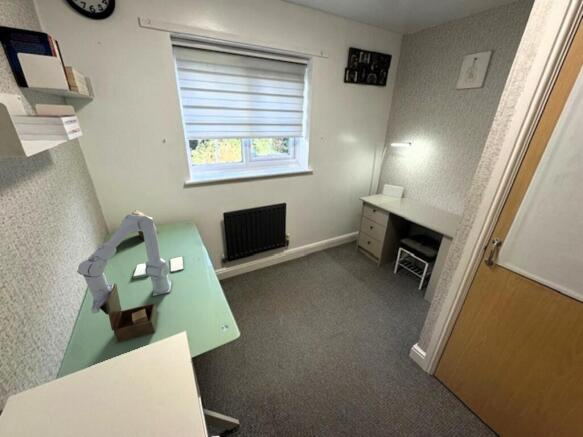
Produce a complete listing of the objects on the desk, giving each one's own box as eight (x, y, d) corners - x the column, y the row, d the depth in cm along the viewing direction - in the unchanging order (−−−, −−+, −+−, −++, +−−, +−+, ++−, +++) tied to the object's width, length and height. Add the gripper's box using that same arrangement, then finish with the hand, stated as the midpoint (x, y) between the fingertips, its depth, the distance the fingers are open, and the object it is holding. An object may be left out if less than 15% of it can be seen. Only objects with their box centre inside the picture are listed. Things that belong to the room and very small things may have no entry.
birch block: (147, 316, 107) (144, 308, 105) (149, 324, 103) (146, 315, 101) (134, 322, 104) (131, 313, 102) (135, 329, 101) (132, 321, 99)
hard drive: (149, 273, 135) (152, 261, 146) (132, 276, 132) (137, 264, 143) (149, 275, 136) (152, 263, 146) (133, 278, 133) (137, 266, 144)
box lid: (116, 283, 98) (114, 283, 98) (108, 302, 88) (105, 302, 88) (121, 310, 103) (119, 310, 103) (114, 330, 93) (111, 330, 93)
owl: (147, 240, 173) (140, 215, 165) (132, 239, 175) (124, 214, 166) (158, 232, 184) (152, 209, 176) (143, 231, 186) (137, 208, 178)
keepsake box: (158, 313, 110) (154, 302, 108) (154, 332, 100) (151, 321, 98) (124, 321, 106) (120, 311, 103) (118, 342, 96) (113, 331, 93)
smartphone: (182, 256, 153) (183, 268, 141) (182, 256, 153) (183, 269, 141) (170, 258, 150) (170, 271, 138) (170, 259, 150) (170, 272, 138)
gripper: (102, 298, 87) (113, 324, 92) (118, 274, 100) (127, 299, 105) (79, 301, 85) (92, 328, 91) (99, 277, 98) (109, 302, 104)
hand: (109, 313), depth 98 cm, fingers closed
